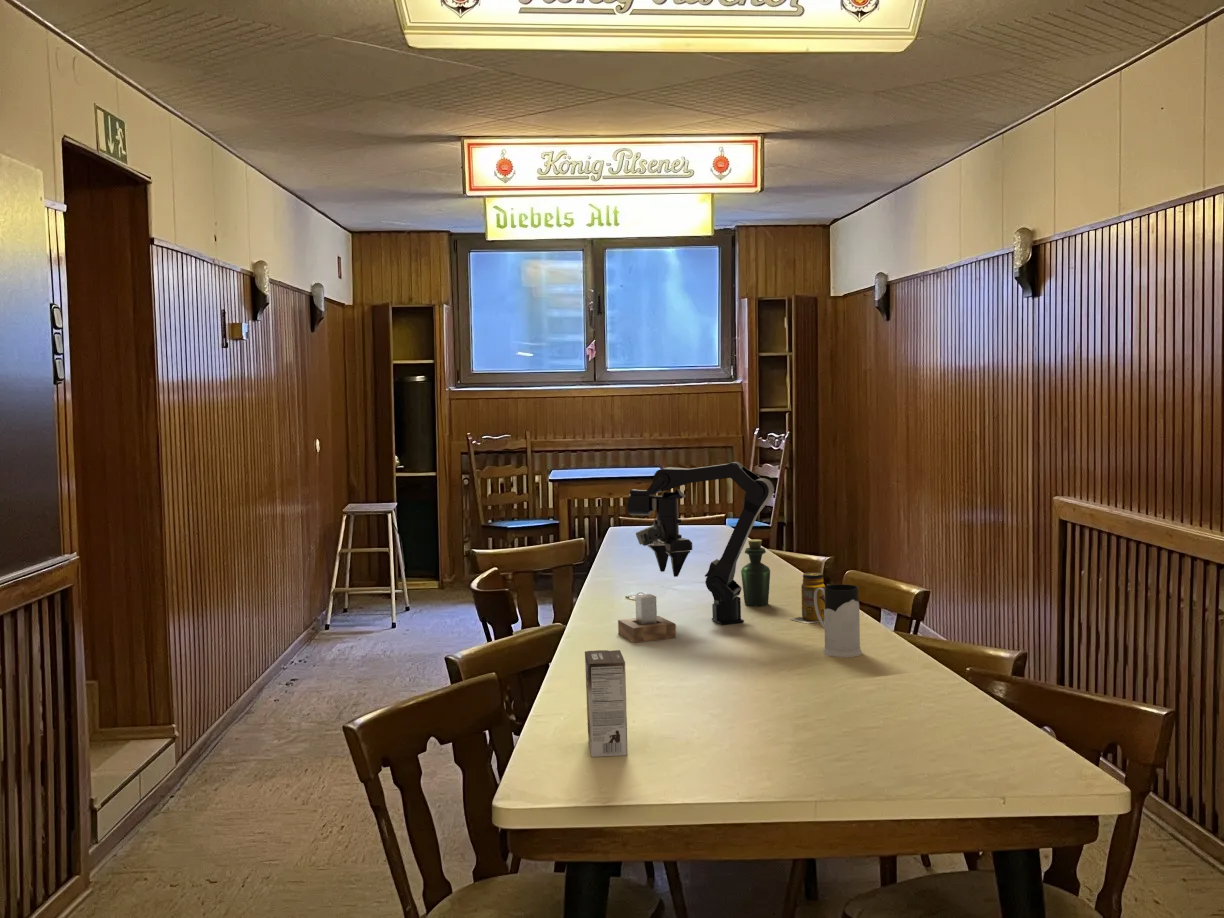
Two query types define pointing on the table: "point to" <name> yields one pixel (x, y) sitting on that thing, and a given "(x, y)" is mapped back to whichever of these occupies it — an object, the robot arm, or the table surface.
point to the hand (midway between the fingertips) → (669, 574)
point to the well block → (646, 630)
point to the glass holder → (840, 620)
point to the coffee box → (606, 703)
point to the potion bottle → (755, 576)
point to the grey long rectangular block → (646, 609)
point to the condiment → (811, 598)
